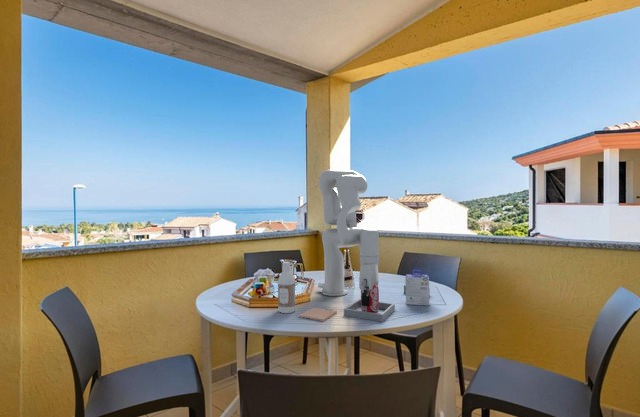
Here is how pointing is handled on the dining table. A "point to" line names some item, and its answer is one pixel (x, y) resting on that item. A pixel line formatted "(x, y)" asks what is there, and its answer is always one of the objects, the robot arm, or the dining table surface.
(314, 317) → the terracotta tile
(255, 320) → the dining table surface
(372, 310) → the soda can
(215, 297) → the dining table surface
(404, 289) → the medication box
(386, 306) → the parts bin
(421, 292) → the ink cartridge box
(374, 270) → the robot arm
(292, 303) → the bath foam
